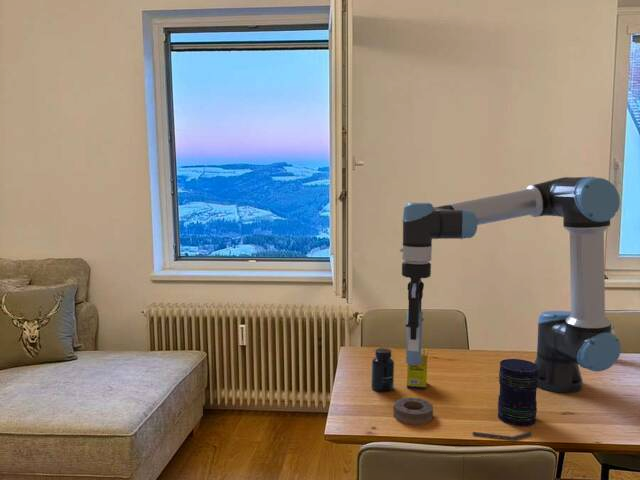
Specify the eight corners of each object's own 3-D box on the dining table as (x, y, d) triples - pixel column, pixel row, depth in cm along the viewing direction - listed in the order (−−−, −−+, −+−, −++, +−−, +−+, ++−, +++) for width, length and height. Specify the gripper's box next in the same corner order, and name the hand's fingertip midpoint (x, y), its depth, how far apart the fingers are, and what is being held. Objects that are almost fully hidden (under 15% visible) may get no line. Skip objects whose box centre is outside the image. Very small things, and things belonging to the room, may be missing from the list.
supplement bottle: (388, 394, 158) (388, 355, 157) (367, 389, 162) (368, 351, 161) (397, 386, 164) (398, 349, 163) (377, 382, 168) (377, 345, 166)
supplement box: (426, 389, 162) (427, 355, 160) (406, 388, 163) (407, 354, 162) (426, 382, 167) (427, 349, 166) (407, 381, 169) (408, 347, 167)
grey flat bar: (531, 434, 134) (531, 432, 134) (533, 442, 129) (533, 440, 129) (472, 427, 137) (472, 425, 137) (472, 435, 133) (472, 432, 133)
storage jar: (493, 409, 148) (495, 358, 146) (530, 411, 147) (532, 359, 145) (502, 426, 138) (504, 371, 136) (541, 428, 137) (544, 372, 135)
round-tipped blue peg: (421, 360, 143) (423, 303, 142) (420, 365, 140) (422, 306, 138) (406, 359, 144) (408, 302, 143) (405, 364, 141) (406, 305, 139)
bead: (433, 410, 147) (433, 400, 147) (431, 426, 138) (431, 415, 137) (396, 406, 150) (396, 395, 150) (391, 422, 140) (391, 411, 140)
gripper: (405, 256, 148) (403, 337, 151) (398, 266, 132) (395, 356, 134) (433, 257, 146) (430, 339, 149) (428, 267, 130) (425, 359, 132)
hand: (414, 347), depth 142 cm, fingers closed on round-tipped blue peg, 4 cm apart
